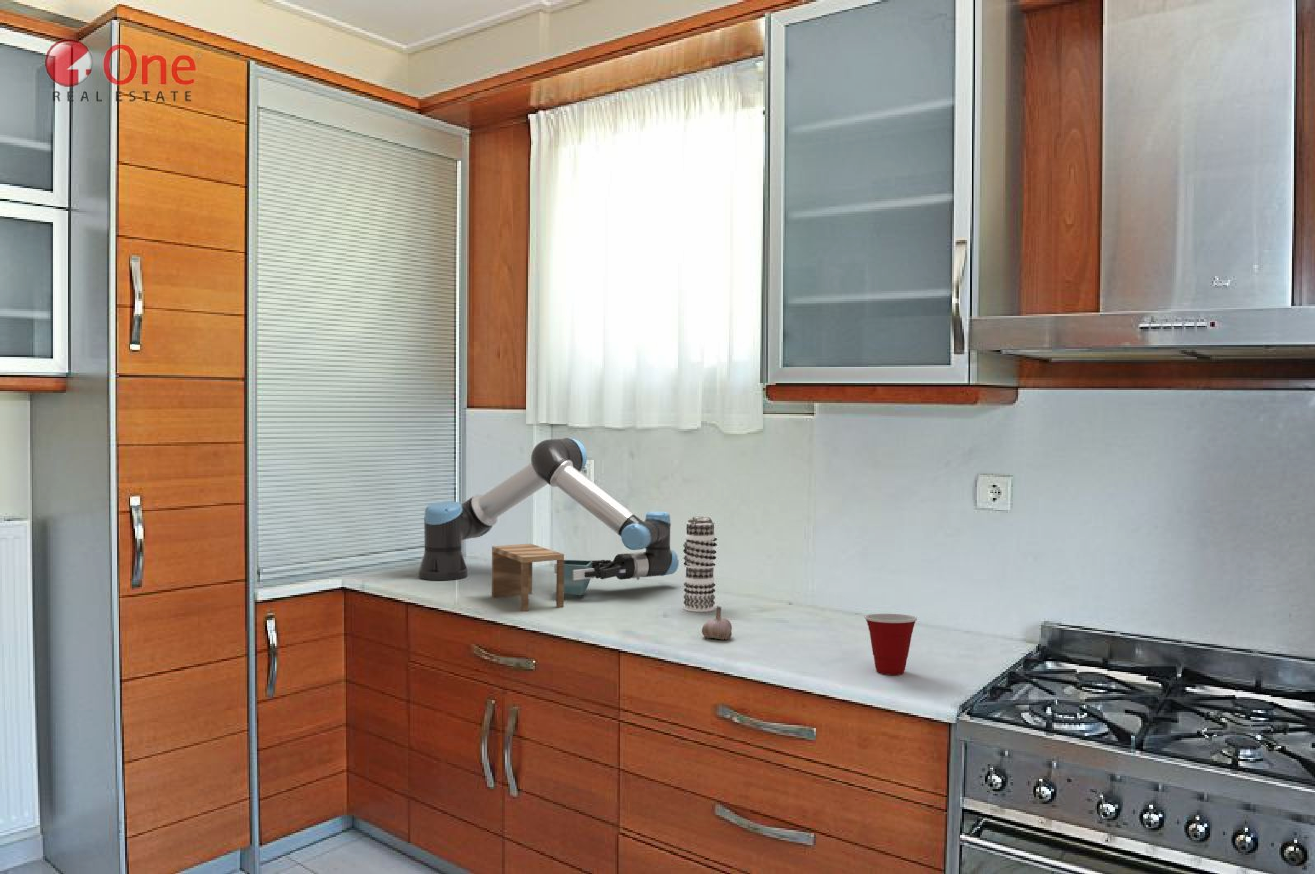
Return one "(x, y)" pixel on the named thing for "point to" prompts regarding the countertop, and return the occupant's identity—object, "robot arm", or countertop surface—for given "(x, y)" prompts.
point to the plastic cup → (890, 641)
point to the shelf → (522, 571)
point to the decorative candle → (699, 565)
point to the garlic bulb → (717, 627)
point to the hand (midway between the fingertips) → (563, 571)
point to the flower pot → (569, 583)
